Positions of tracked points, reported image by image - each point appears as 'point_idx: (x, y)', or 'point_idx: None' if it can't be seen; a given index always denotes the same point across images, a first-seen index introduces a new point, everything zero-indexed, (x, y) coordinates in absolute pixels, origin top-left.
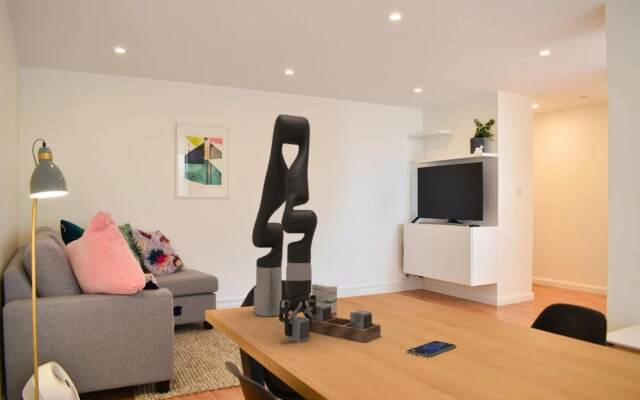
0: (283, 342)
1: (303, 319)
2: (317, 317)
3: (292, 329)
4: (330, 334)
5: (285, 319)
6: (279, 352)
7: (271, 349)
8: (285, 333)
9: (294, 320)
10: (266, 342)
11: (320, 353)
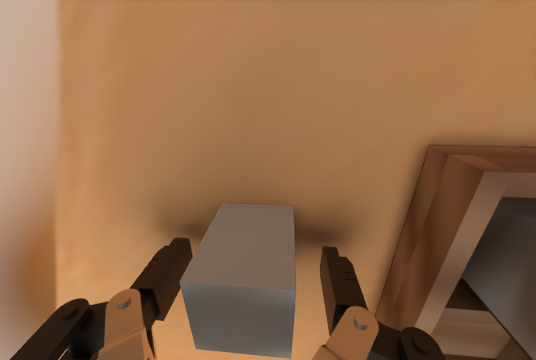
0: (180, 216)
1: (248, 347)
2: (508, 281)
3: (178, 290)
4: (383, 301)
5: (71, 355)
6: (99, 269)
7: (91, 234)
8: (161, 253)
9: (191, 324)
10: (121, 162)
11: (190, 342)
